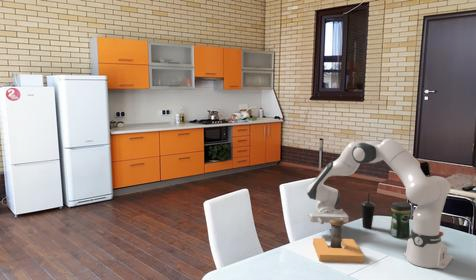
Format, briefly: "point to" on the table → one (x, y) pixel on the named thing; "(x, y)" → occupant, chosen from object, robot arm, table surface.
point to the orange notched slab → (338, 251)
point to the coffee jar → (400, 219)
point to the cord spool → (336, 232)
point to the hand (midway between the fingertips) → (331, 222)
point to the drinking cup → (367, 213)
